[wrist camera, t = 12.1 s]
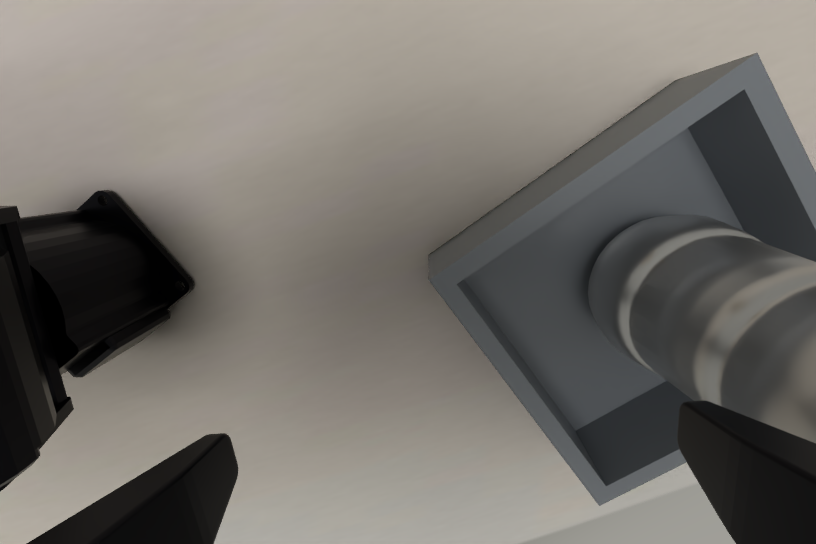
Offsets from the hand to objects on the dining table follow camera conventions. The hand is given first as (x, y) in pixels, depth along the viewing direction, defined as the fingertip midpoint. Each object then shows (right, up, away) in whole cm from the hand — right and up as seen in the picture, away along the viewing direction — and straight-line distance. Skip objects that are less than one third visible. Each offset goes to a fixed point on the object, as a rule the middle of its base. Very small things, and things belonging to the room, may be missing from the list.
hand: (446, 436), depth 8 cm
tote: (+10, +3, +12) cm, 16 cm away
